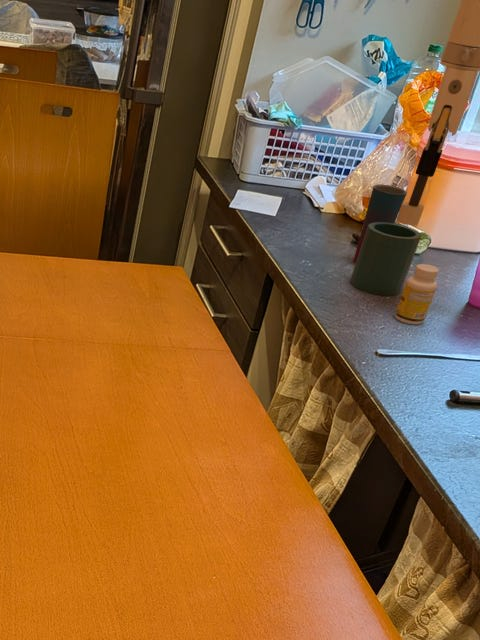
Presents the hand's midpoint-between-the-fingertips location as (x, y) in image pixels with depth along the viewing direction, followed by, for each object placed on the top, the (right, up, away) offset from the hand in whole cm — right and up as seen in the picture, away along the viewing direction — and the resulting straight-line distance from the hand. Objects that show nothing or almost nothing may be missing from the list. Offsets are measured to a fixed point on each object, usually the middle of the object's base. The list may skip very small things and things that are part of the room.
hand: (424, 173), depth 170 cm
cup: (+1, -4, +32) cm, 32 cm away
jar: (-1, -13, +20) cm, 24 cm away
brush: (-1, -7, +6) cm, 9 cm away
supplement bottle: (0, -25, +7) cm, 26 cm away
